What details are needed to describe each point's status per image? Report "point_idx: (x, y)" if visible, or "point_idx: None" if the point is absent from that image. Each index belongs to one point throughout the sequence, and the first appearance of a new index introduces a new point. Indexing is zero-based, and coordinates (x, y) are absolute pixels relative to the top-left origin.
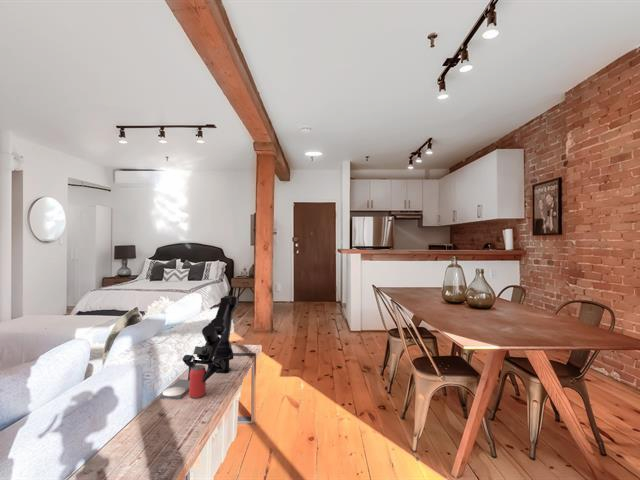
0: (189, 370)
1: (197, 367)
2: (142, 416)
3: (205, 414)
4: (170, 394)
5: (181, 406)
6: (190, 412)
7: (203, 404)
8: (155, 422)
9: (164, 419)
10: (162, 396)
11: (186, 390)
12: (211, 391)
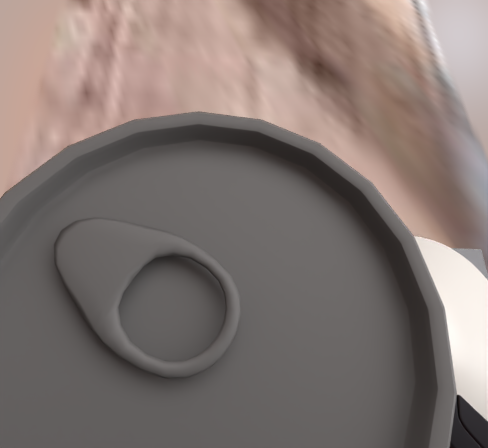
0: (459, 409)
1: (226, 315)
2: (402, 57)
3: (86, 60)
4: None
5: None
6: (179, 82)
7: None
8: (310, 11)
9: (283, 29)
10: (456, 251)
11: None
12: None
